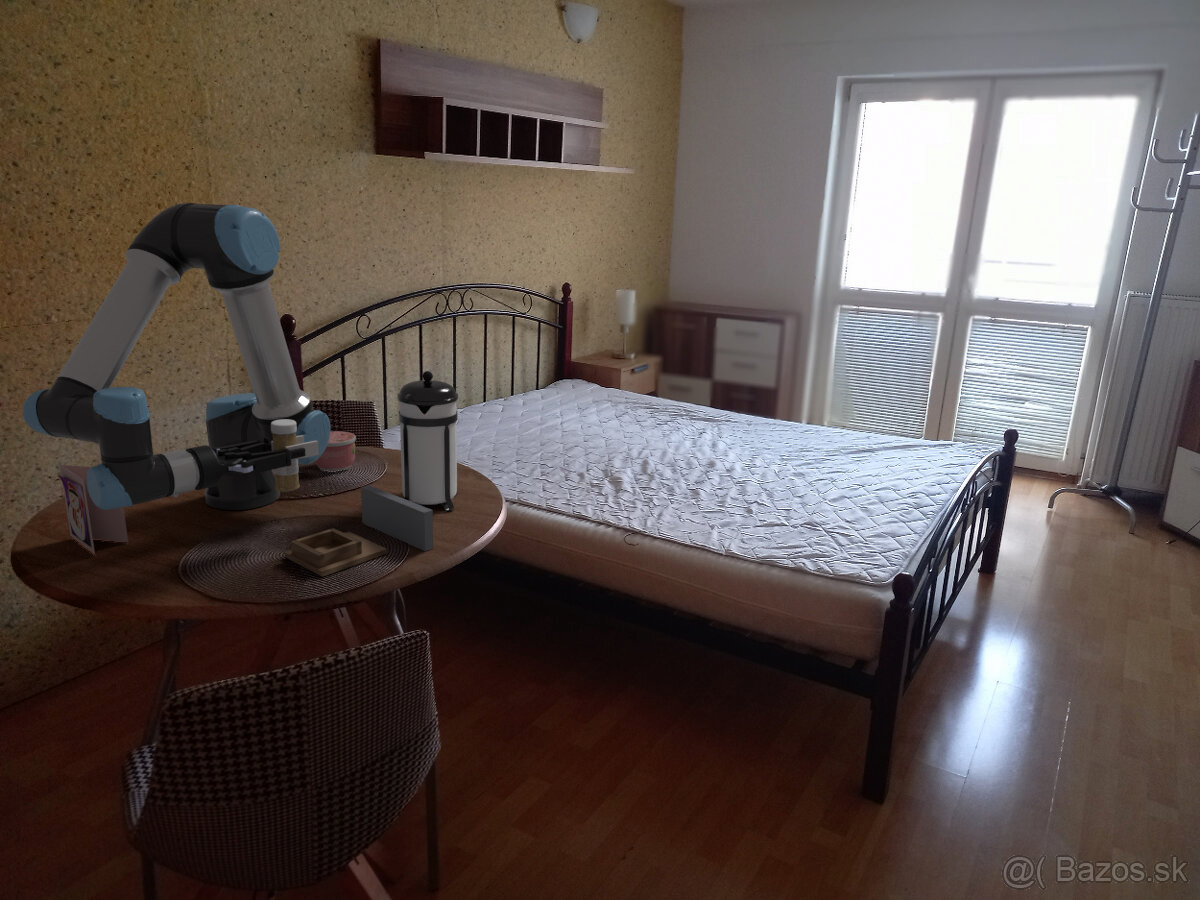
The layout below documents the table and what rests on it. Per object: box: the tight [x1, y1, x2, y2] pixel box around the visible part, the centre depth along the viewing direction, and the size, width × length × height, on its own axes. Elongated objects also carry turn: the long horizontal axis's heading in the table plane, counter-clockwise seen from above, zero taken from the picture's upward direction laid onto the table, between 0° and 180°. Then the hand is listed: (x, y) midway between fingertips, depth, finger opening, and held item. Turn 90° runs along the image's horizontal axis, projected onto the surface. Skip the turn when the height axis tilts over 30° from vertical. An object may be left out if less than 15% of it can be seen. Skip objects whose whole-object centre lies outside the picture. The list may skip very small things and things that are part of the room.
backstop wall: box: [360, 484, 434, 552], centre depth 165 cm, size 2×20×8 cm, turn 51°
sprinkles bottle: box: [271, 419, 301, 492], centre depth 158 cm, size 5×5×13 cm
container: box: [314, 430, 357, 471], centre depth 204 cm, size 10×10×8 cm
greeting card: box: [57, 464, 129, 555], centre depth 155 cm, size 11×7×15 cm, turn 51°
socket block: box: [284, 527, 388, 577], centre depth 156 cm, size 14×12×4 cm
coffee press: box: [397, 370, 459, 512], centre depth 182 cm, size 17×16×30 cm
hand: (309, 444), depth 162 cm, fingers closed on sprinkles bottle, 4 cm apart
